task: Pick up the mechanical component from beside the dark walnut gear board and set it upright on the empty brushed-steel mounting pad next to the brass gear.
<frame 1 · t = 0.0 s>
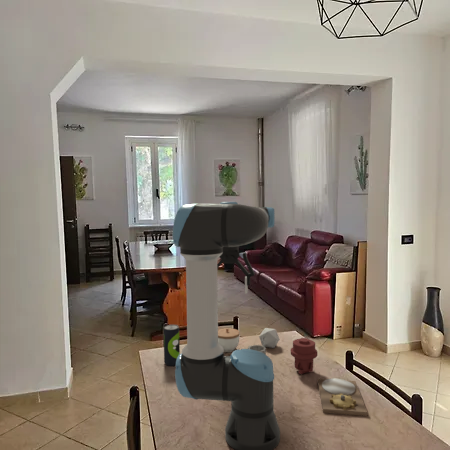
hand: (229, 292, 156), 28 cm above the table, tool pointing down, fingers open, 13 cm apart
gear board: (340, 397, 127), on the table
lidded jar: (227, 349, 169), on the table
die: (269, 346, 172), on the table
mechanical component: (303, 371, 147), on the table
mug: (255, 363, 155), on the table
beverage can: (172, 363, 155), on the table
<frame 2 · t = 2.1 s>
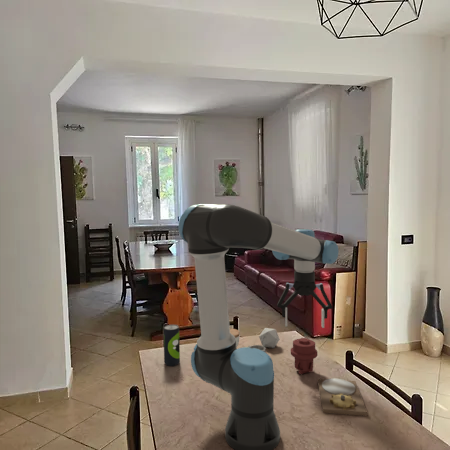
hand: (304, 326, 146), 18 cm above the table, tool pointing down, fingers open, 13 cm apart
nothing on the table moved.
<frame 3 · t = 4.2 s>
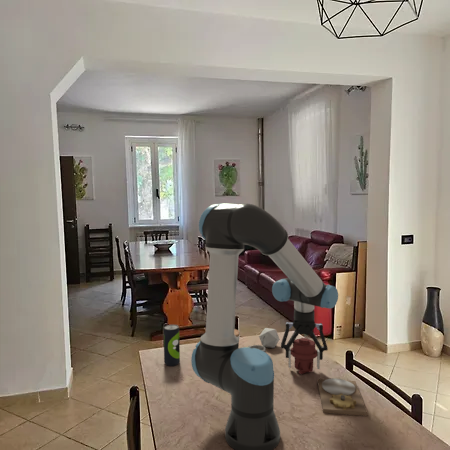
hand: (303, 366, 147), 2 cm above the table, tool pointing down, fingers closed on mechanical component, 10 cm apart
mechanical component: (303, 371, 147), on the table, touching gripper
everything else where it was.
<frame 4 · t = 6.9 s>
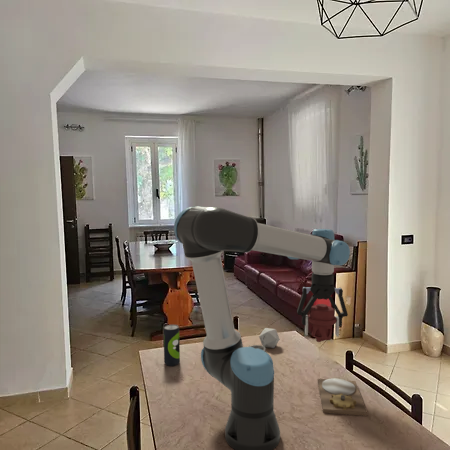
hand: (321, 334, 137), 17 cm above the table, tool pointing down, fingers closed on mechanical component, 10 cm apart
mechanical component: (321, 339, 137), point 15 cm above the table, touching gripper
everything else where it was.
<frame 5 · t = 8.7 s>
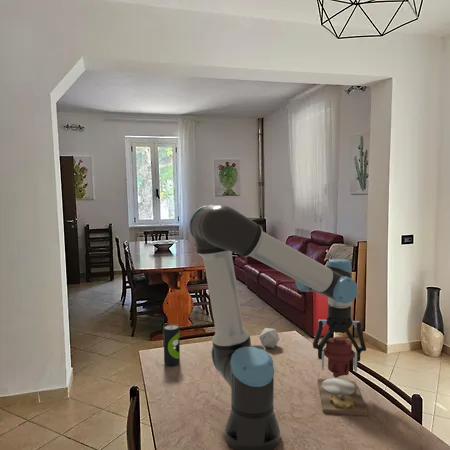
hand: (338, 369, 131), 8 cm above the table, tool pointing down, fingers closed on mechanical component, 10 cm apart
mechanical component: (338, 374, 132), point 6 cm above the table, touching gripper
everything else where it was.
when the fingers open (5 cm above the table, at t = 9.8 s): mechanical component drops 1 cm, resting on gear board.
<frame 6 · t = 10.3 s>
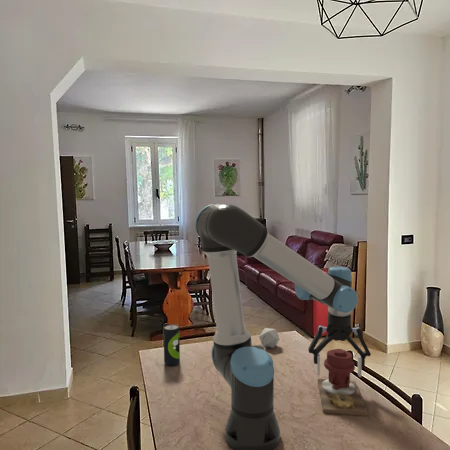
hand: (338, 374, 131), 6 cm above the table, tool pointing down, fingers open, 13 cm apart
mechanical component: (339, 386, 132), point 2 cm above the table, touching gear board
everything else where it was.
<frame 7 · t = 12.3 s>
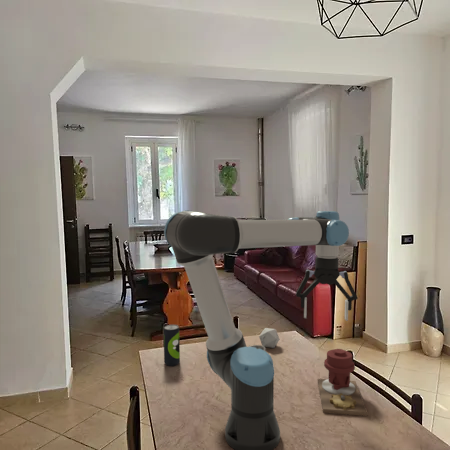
hand: (325, 318, 132), 25 cm above the table, tool pointing down, fingers open, 13 cm apart
nothing on the table moved.
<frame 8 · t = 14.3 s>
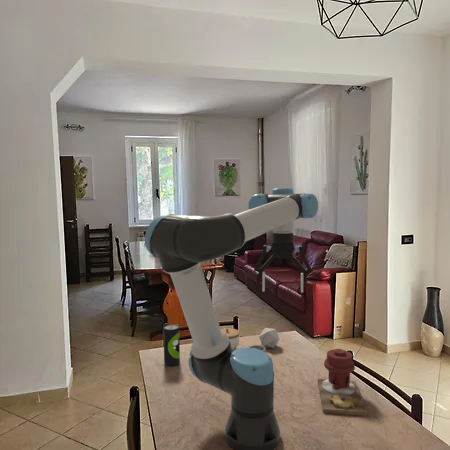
hand: (282, 291, 138), 33 cm above the table, tool pointing down, fingers open, 13 cm apart
nothing on the table moved.
at the end: mechanical component 0.2 cm from the target spot on the gear board, point 1.5 cm above the gear board's base; mechanical component tilted 0°; the gripper is holding nothing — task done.
